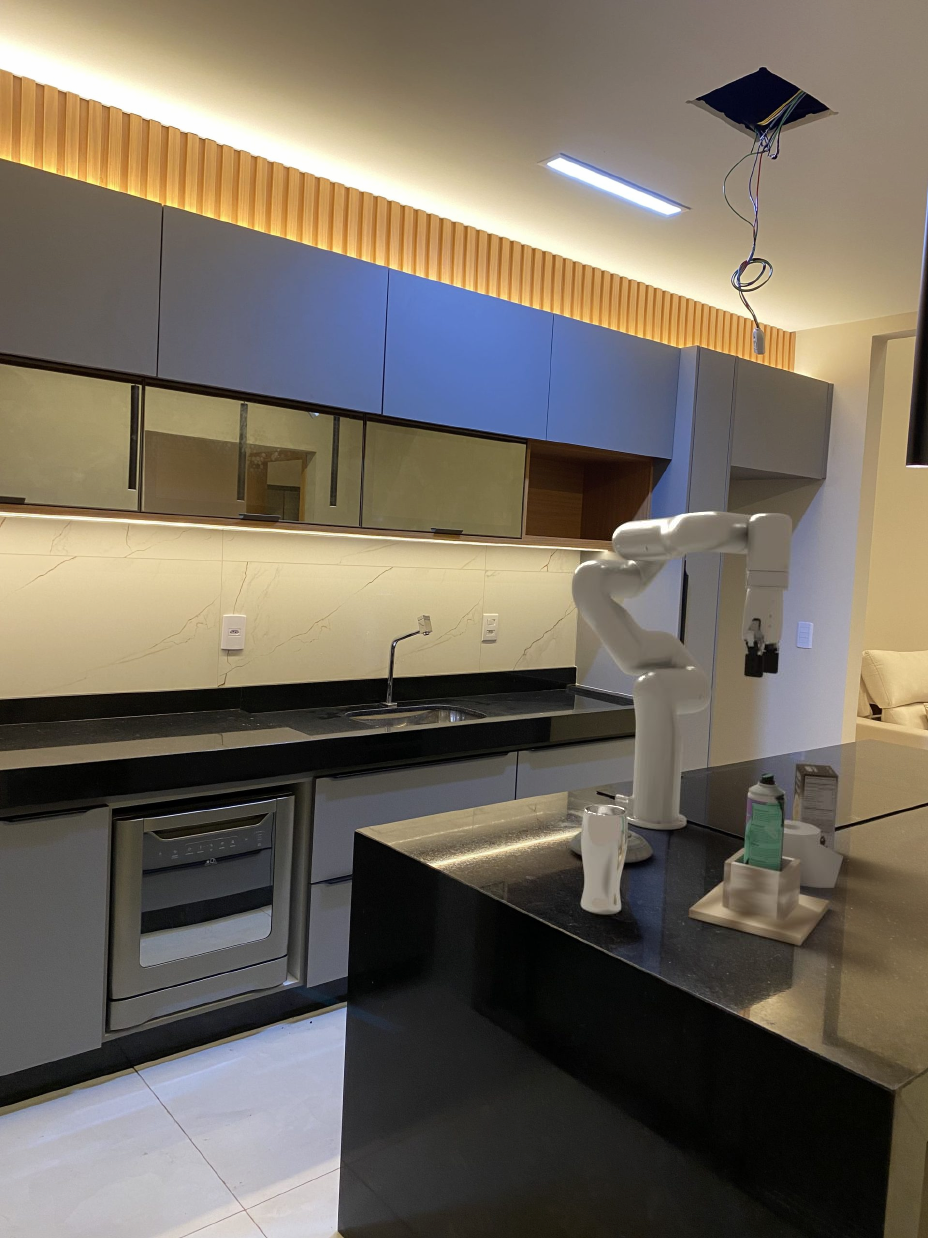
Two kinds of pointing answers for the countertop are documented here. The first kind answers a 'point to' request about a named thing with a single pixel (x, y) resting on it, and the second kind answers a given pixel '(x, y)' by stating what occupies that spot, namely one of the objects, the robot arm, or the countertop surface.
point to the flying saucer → (635, 847)
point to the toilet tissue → (811, 854)
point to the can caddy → (762, 901)
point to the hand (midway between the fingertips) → (761, 674)
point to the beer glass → (603, 856)
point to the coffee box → (816, 799)
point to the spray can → (765, 825)
